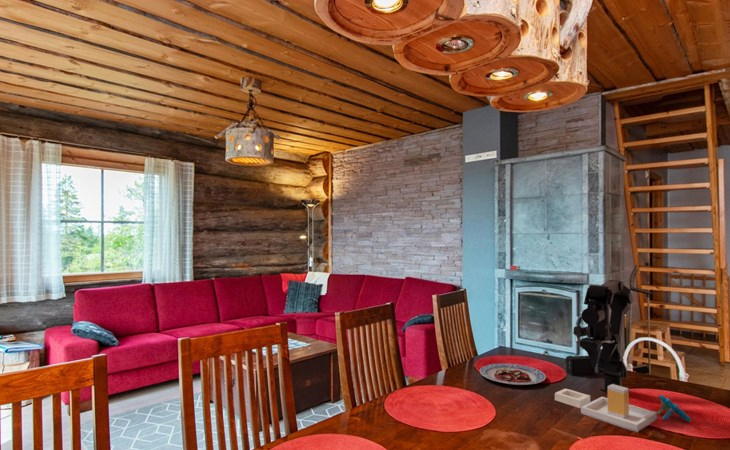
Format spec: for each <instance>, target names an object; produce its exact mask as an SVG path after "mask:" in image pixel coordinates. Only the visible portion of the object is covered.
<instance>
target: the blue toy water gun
mask: <svg viewBox="0 0 730 450" xmlns="http://www.w3.org/2000/svg"><path fill="white" fill-rule="evenodd" d="M658 398H659V401H661V403H660V404H661V407H660V408H661V409H659V410H658V411H656V412H657V415H660V414H662V412H663V411H665V412H666V414H664V416H663V417H662V419H663V420H665V421H666V420H667V419H668V418H670V416H672V415H674V414H676V415H677V416H678V417H680V419H683V420H684V421H685V420H686V421H685V422H689V423H690V422H692V419H691V417H690V416H689V415H688V414H686V412H685V410H683V409H680V408H679V405H677V404H676V403H673V402H672V400H671V399H669V398H667V397H665V395H661V394H659V395H658Z"/></svg>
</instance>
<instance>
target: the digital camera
mask: <svg viewBox="0 0 730 450" xmlns="http://www.w3.org/2000/svg"><path fill="white" fill-rule="evenodd" d="M564 362H565V369H566V374H568V375H570V376H591V375H593V376H594V375H596V367H592V364H591V362H590V359H589V356H588V355H568V356H565V360H564Z"/></svg>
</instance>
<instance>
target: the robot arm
mask: <svg viewBox="0 0 730 450" xmlns="http://www.w3.org/2000/svg"><path fill="white" fill-rule="evenodd" d="M633 301H634V296H633V293H632V290H631V289H630V288H629V287H627V286H626V285H625V284H624V282H623V281H621V280H617V279H616V280H614V279H612V280H611V279H610V280H607V281H606V282H604V283H603V284H590V285H589V286H588V287H587V289H586V293H585V296H584V302H583V305H587V307H586V308H585V309H583V311H581V314H580V315H581V319H582V321H583V322H584V323H585V324H586V325H587V326H583V327H582V326H581V325H578V326H577V325H576V326H574V327H573V330H572V331H573V332H572V333H573V335H574V336H576V338H577V339H579V338H581V337H583V338H581V339H579V340H578V341H579V342H578V346H579V347H580V348H581V349H582V350H584V351H585V352H586V353H587V356H589V359H590V362H591V364H592V367H595V368H596V367H597V372H598V374H602V375H603V387H600V388H599V390H600V391H603V392H606V393H608V386H609V385H611V384H614V385H618V386H622V379H624V378H627V377H628V369H627V367H626V364H625V362H624V357H623V355H622V353H621V342H622V335H623V328H624V327H623V326H624V321H625V315H626V314H627V313H628V311H630V310H631V305H632V304H633Z"/></svg>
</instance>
